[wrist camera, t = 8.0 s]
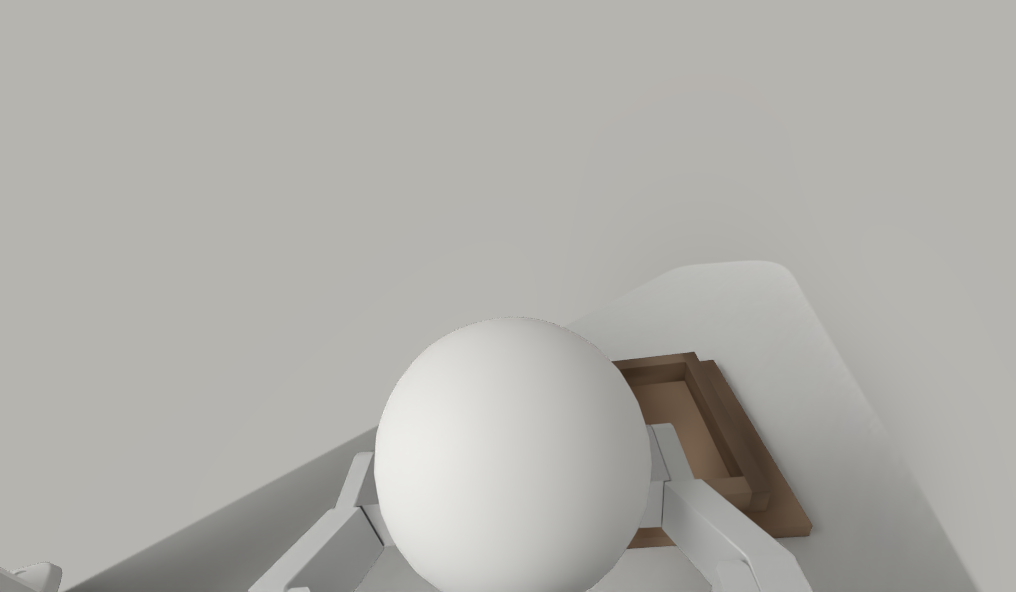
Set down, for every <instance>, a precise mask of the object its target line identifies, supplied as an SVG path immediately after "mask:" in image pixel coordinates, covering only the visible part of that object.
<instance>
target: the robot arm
mask: <svg viewBox="0 0 1016 592" xmlns="http://www.w3.org/2000/svg"><path fill="white" fill-rule="evenodd" d="M646 429H647V432H648V436H649V440H650V451H651V463H652V467H651V480H650V487H649V494H648V501H647V507H646V509H645V512H644V514H643V517H642V519H641V522H640V524H639V527H638V528H650V527H662V529H663V530H664V532H665V533H666V534H667V535H668V536H669V537H670V538H671V540H672V541H673V542H674V543H675V544H676V545H677V546H678V548H679V549H680V550H681V551H682V552H683V553H684V554H685V556H686V557H687V558H688V559H689V560H690V561H691V562H692V564H693V565H694V566H695V567H696V568H697V569H698V570H699V572H700V573H701V574H702V575H703V576H704V577H705V578H706V580H707V581H708V582H709V583H710V584H711V585H712V591H711V592H813V591H812V589H811V587H810V585H809V583H808V581H807V579H806V577H805V576H804V574H803V572H802V570H801V568H800V566H799V564H798V562H797V560H796V558H795V557H794V555H793V554H792V553H791V552H789V551H788V550H787V549H786V548H785V547H783V546H782V545H781V544H780V543H778V542H777V541H776V540H775V539H774V538H772V537H771V536H770V535H769V534H767V533H766V532H765V531H764V530H763V529H761V528H760V527H759V526H758V525H756V524H755V523H754V522H753V521H752V520H750V519H749V518H748V517H747V516H746V515H744V514H743V513H742V512H741V511H739V510H738V509H737V508H736V507H735V506H733V505H732V504H731V503H730V502H728V501H727V500H726V499H725V498H724V497H722V496H721V495H720V494H719V493H717V492H716V491H715V490H714V489H713V488H711V487H710V486H709V485H708V484H706V483H705V482H704V481H703V480H702V479H694V476H693V474H692V471H691V469H690V466H689V464H688V461H687V459H686V456H685V454H684V451H683V449H682V446H681V444H680V441H679V439H678V436H677V434H676V431H675V429H674V426H673V425H672V424H671V423H664V424H654V425H646ZM374 462H375V451H366V452H358V453H357V455H356V456H355V457H354V459H353V461H352V464H351V467H350V469H349V472H348V474H347V477H346V480H345V482H344V485H343V487H342V490H341V493H340V495H339V498H338V501H337V503H336V506H335V508H334V509H329V510H328V511H327V512H326V513H325V514H324V515H323V516H322V517H321V518H320V519H319V520H318V521H317V522H316V523H315V524H314V525H313V526H312V527H311V528H310V529H309V530H308V531H307V532H306V533H305V534H304V535H303V536H302V537H301V538H300V539H299V540H298V541H297V542H296V543H295V544H294V545H293V546H292V547H291V548H290V549H289V550H288V551H287V552H286V553H285V554H284V555H283V556H282V557H281V558H280V559H279V560H278V561H277V562H276V563H275V564H274V565H273V566H272V567H271V568H270V569H269V570H268V571H267V572H266V573H265V574H263V575H262V576H261V577H260V578H259V579H258V580H257V581H256V582H255V583H254V584H253V585H252V586H251V587H250V588H249V590H248V592H354V591H355V589H356V588H357V586H358V585H359V584H360V582H361V581H362V579H363V578H364V577H365V575H366V574H367V572H368V571H369V570H370V568H371V567H372V565H373V564H374V563H375V561H376V560H377V558H378V557H379V556H380V554H381V553H382V551H383V550H384V547H387V546H396V544H395V543H394V541H393V539H392V538H391V535H390V533H389V531H388V528H387V526H386V524H385V522H384V519H383V517H382V515H381V510H380V505H379V500H378V495H377V489H376V483H375V477H374ZM61 577H62V570H61V568H60V567H58V566H56V565H54V564H51V563H49V562H42V563H38V564H34V565H30V566H27V567H23V568H19V569H15V570H12V571H7V570H5V569H3V568H1V567H0V592H57V591H58V588H59V585H60V581H61Z"/></svg>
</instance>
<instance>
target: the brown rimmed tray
mask: <svg viewBox="0 0 1016 592" xmlns="http://www.w3.org/2000/svg"><path fill="white" fill-rule="evenodd" d="M612 363H613V364H614V365H615V366H616V367H617V368H618V369H619V370H620V372H621V374H622V375H623V377H624V379H625V380H626V382H627V383H628V385H629V387H630V388H631V390H632V392H633V394H634V396H635V398H636V399H637V401H638V403H639V406H640V409H641V412H642V415H643V419H644V422H645V425H654V424H664V423H671V424H672V425H673V426H674V429H675V431H676V434H677V436H678V439H679V441H680V444H681V446H682V449H683V451H684V454H685V456H686V459H687V461H688V464H689V466H690V469H691V471H692V474H693V476H694V479H702V480H703V481H704V482H705V483H706V484H708V485H709V486H710V487H711V488H713V489H714V490H715V491H716V492H717V493H719V494H720V495H721V496H722V497H724V498H725V499H726V500H727V501H728V502H730V503H731V504H732V505H733V506H735V507H736V508H737V509H738V510H739V511H741V512H742V513H743V514H744V515H746V516H747V517H748V518H749V519H750V520H752V521H753V522H754V523H755V524H756V525H758V526H759V527H760V528H761V529H763V530H764V531H765V532H766V533H767V534H769V535H770V536H771V537H772V538H783V537H797V536H809V534H810V531H811V529H812V524H811V522H810V521H809V519H808V517H807V516H806V514H805V512H804V511H803V509H802V507H801V506H800V504H799V502H798V501H797V499H796V497H795V496H794V494H793V492H792V491H791V489H790V487H789V486H788V484H787V482H786V481H785V479H784V477H783V476H782V474H781V472H780V470H779V469H778V467H777V465H776V464H775V462H774V460H773V459H772V457H771V455H770V454H769V452H768V450H767V449H766V447H765V445H764V444H763V442H762V440H761V439H760V437H759V435H758V434H757V432H756V430H755V429H754V427H753V425H752V424H751V422H750V420H749V419H748V417H747V415H746V414H745V412H744V410H743V409H742V407H741V405H740V403H739V402H738V400H737V398H736V397H735V395H734V393H733V392H732V390H731V388H730V387H729V385H728V383H727V382H726V380H725V378H724V377H723V375H722V373H721V372H720V370H719V368H718V367H717V365H716V363H715V362H714V360H707V361H699V359H698V358H697V356H696V354H695V352H690V353H681V354H672V355H664V356H655V357H647V358H638V359H629V360H621V361H612ZM671 545H676V544H675V543H674V542H673V541H672V540H671V538H670V537H669V536H668V535H667V534H666V533H665V532H664V530H663V529H662V527H650V528H638V529H637V532H636V534H635V535H634V537H633V539H632V540H631V542H630V544H629V545H628V547H627V548H626V549H630V548H644V547H658V546H671Z"/></svg>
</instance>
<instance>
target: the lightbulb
mask: <svg viewBox="0 0 1016 592" xmlns="http://www.w3.org/2000/svg"><path fill="white" fill-rule="evenodd" d="M651 467H652V463H651V451H650V440H649V436H648V432H647V429H646V425H645V422H644V419H643V415H642V412H641V409H640V406H639V403H638V401H637V399H636V398H635V396H634V394H633V392H632V390H631V388H630V387H629V385H628V383H627V382H626V380H625V379H624V377H623V375H622V374H621V372H620V370H619V369H618V368H617V367H616V366H615V365H614V364H613V363H612V362H611V361H610V360H609V359H608V358H607V357H606V356H605V355H604V354H603V353H602V352H601V351H599V350H598V349H597V348H596V347H595V346H594V345H592V344H591V343H589V342H588V341H586V340H585V339H584V338H582V337H581V336H579V335H577V334H575V333H573V332H571V331H569V330H567V329H565V328H563V327H560V326H558V325H556V324H554V323H550V322H547V321H543V320H539V319H532V318H524V317H505V318H497V319H489V320H485V321H481V322H476V323H473V324H470V325H467V326H465V327H462V328H460V329H457V330H455V331H453V332H451V333H449V334H447V335H445V336H443V337H442V338H440V339H439V340H437V341H436V342H434V343H433V344H431V345H430V346H429V347H427V348H426V349H425V350H424V351H423V352H422V353H421V354H420V355H419V356H418V357H417V358H416V359H415V360H414V361H413V363H412V364H411V365H410V366H409V368H408V369H407V370H406V372H405V373H404V374H403V375H402V377H401V378H400V379H399V381H398V382H397V384H396V386H395V388H394V390H393V391H392V393H391V395H390V397H389V399H388V402H387V404H386V407H385V409H384V411H383V414H382V417H381V420H380V423H379V427H378V430H377V433H376V447H375V462H374V477H375V483H376V489H377V495H378V500H379V505H380V510H381V515H382V517H383V519H384V522H385V524H386V526H387V528H388V531H389V533H390V535H391V538H392V539H393V541H394V543H395V544H396V546H397V548H398V549H399V551H400V552H401V553H402V555H403V556H404V557H405V559H406V560H407V561H408V562H409V564H410V565H411V566H412V568H413V569H414V570H415V572H416V573H418V574H419V575H420V576H421V577H423V578H424V579H425V580H427V581H428V582H429V583H430V584H432V585H433V586H434V587H436V588H437V589H438V590H440V591H441V592H585V591H587V590H588V589H590V588H592V587H593V586H594V585H595V584H596V583H597V582H598V581H599V580H600V579H601V578H603V577H604V576H605V575H606V574H607V573H608V572H609V571H610V570H611V569H612V568H613V567H614V566H615V564H616V563H617V561H618V560H619V558H620V557H621V555H622V554H623V553H624V551H625V550H626V548H627V547H628V545H629V544H630V542H631V540H632V539H633V537H634V535H635V534H636V532H637V529H638V527H639V524H640V522H641V519H642V517H643V514H644V512H645V509H646V507H647V501H648V494H649V487H650V480H651Z"/></svg>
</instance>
